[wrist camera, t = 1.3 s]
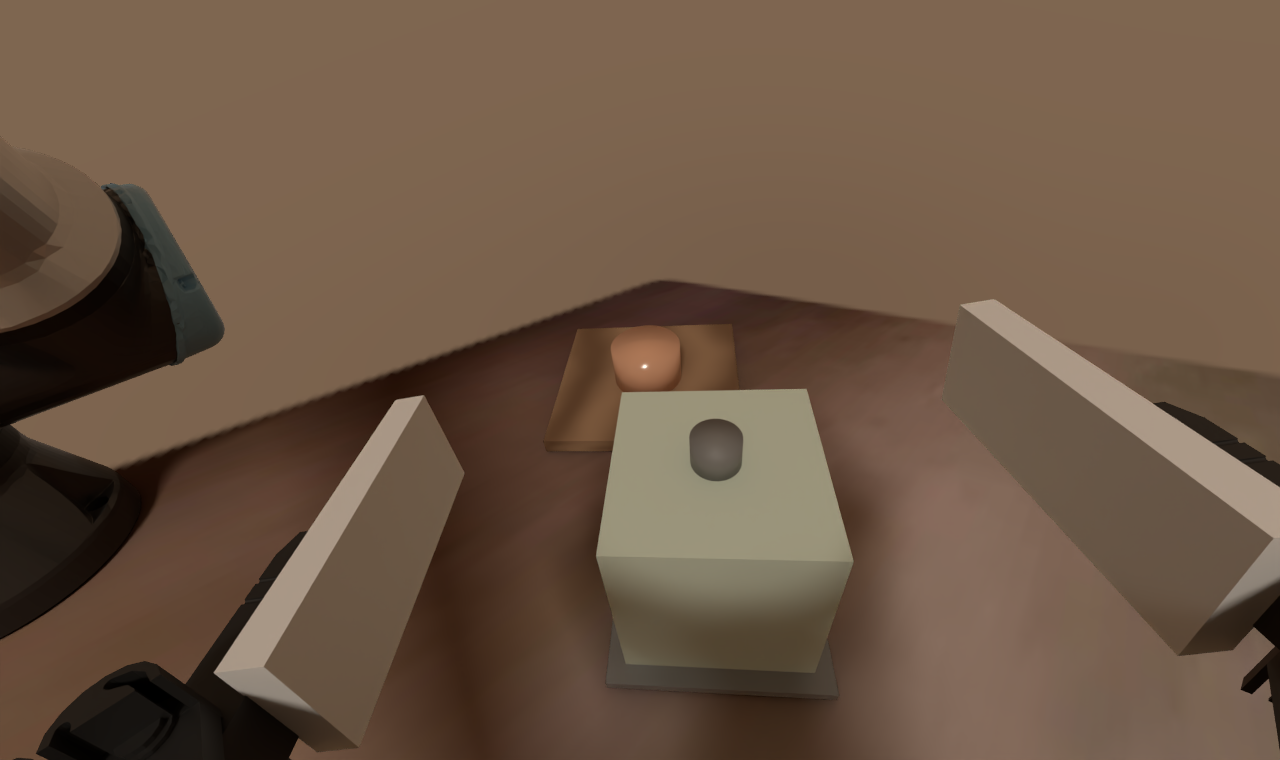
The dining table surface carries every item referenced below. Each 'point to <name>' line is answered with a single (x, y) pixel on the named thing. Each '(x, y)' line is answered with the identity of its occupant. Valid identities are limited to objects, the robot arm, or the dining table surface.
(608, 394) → the board
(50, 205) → the robot arm
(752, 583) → the knobbed cream cube
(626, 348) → the glossy tan dome
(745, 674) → the coaster
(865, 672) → the dining table surface
